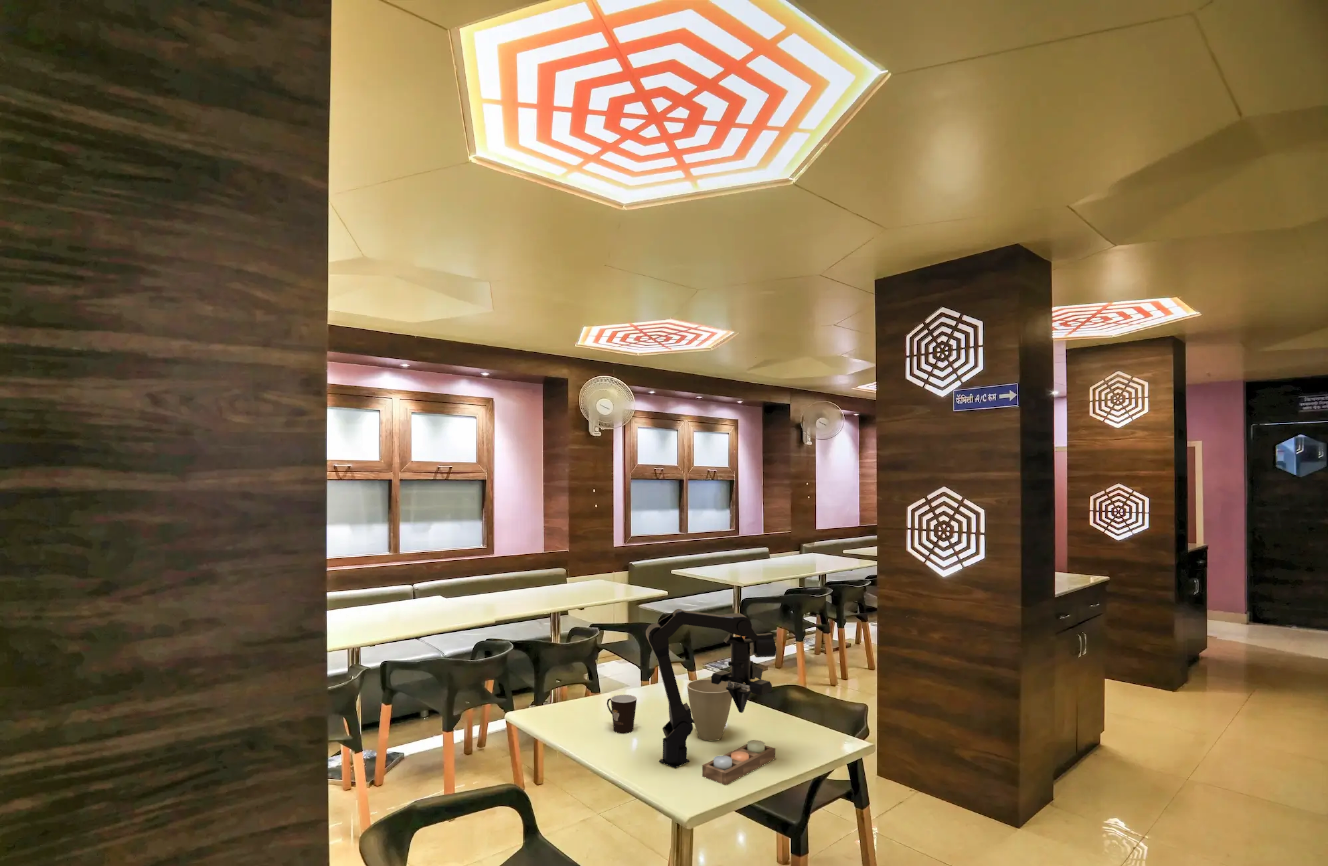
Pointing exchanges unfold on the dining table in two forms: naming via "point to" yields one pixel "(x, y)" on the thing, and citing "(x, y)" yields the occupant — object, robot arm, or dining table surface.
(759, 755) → the brown wooden flat tray
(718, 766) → the slate button
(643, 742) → the dining table surface
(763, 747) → the sage button
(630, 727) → the coffee mug
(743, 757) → the terracotta button
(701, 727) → the plant pot
